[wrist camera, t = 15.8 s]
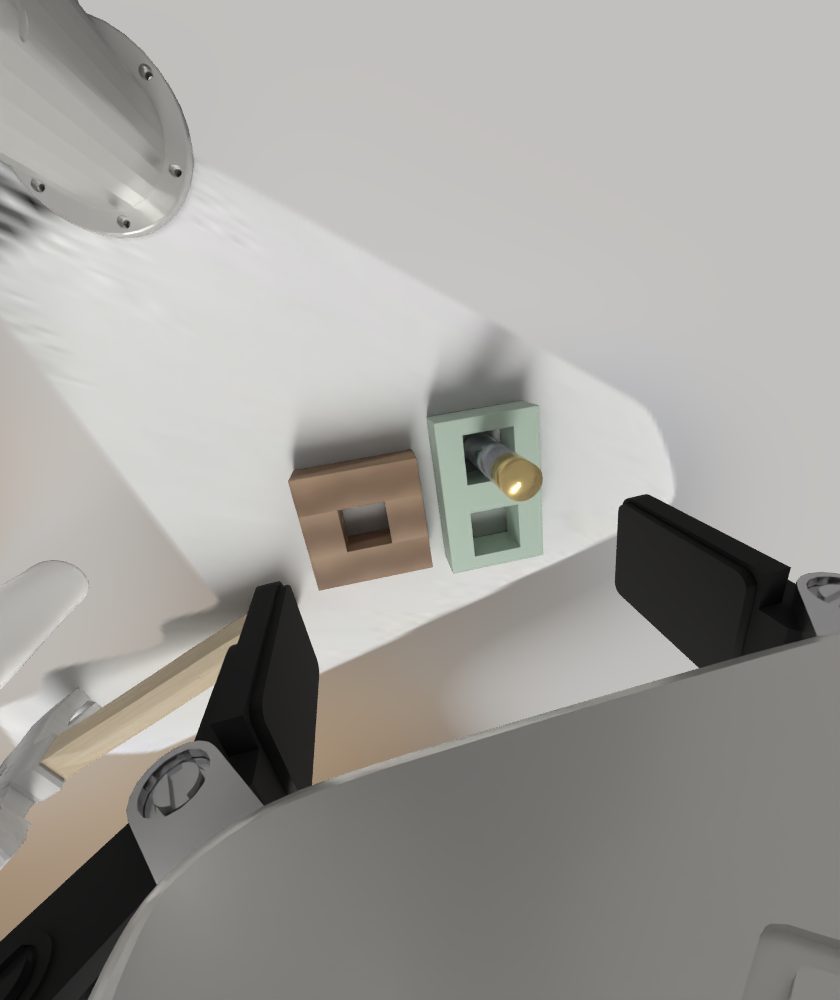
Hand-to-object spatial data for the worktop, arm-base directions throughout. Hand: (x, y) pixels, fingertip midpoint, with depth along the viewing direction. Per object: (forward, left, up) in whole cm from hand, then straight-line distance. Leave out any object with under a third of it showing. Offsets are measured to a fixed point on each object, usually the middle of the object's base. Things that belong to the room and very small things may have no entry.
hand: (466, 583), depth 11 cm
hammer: (+23, -28, -31) cm, 47 cm away
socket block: (+10, -4, -30) cm, 32 cm away
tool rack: (+9, +9, -30) cm, 33 cm away
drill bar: (+5, +9, -30) cm, 32 cm away
